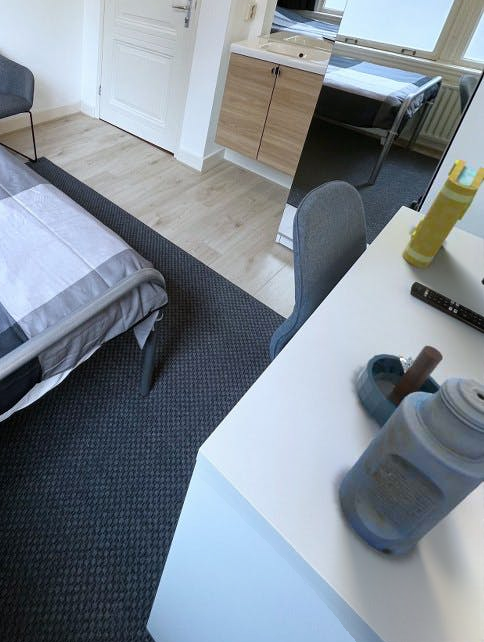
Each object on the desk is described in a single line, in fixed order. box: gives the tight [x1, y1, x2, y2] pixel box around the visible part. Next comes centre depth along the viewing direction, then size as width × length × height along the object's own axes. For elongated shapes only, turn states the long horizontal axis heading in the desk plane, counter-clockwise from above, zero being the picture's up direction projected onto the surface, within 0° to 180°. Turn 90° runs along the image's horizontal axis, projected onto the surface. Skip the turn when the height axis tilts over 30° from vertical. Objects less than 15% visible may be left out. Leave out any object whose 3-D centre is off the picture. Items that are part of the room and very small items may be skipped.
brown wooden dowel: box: [386, 345, 444, 407], centre depth 72 cm, size 3×3×15 cm
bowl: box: [355, 353, 441, 427], centre depth 75 cm, size 13×13×6 cm
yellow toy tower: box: [402, 158, 484, 269], centre depth 109 cm, size 17×7×25 cm, turn 133°
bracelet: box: [392, 354, 415, 388], centre depth 77 cm, size 7×3×8 cm, turn 147°
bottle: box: [338, 376, 484, 556], centre depth 54 cm, size 10×10×30 cm
